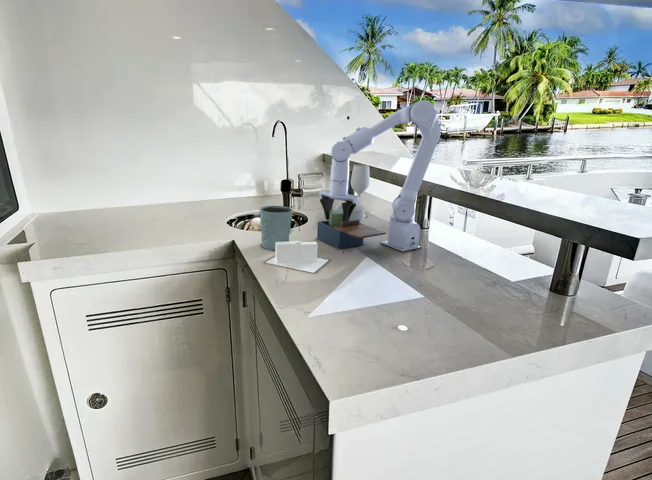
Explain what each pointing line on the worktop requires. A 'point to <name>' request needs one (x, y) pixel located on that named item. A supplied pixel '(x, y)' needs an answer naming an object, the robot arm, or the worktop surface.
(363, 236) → the tin lid
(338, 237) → the tin
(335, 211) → the block
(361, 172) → the wineglass
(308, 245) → the twin cubes on base
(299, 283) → the worktop surface
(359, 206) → the teacup
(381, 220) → the worktop surface
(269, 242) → the teal plant pot
